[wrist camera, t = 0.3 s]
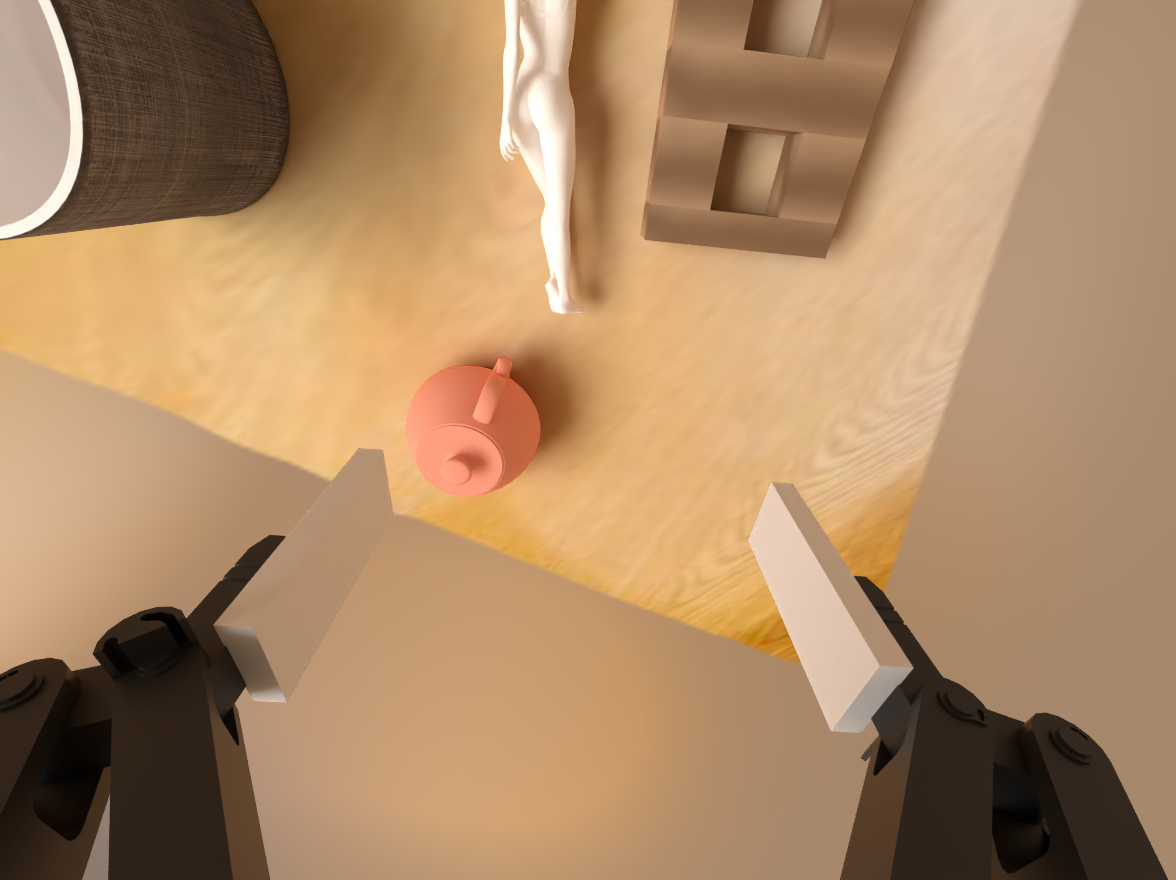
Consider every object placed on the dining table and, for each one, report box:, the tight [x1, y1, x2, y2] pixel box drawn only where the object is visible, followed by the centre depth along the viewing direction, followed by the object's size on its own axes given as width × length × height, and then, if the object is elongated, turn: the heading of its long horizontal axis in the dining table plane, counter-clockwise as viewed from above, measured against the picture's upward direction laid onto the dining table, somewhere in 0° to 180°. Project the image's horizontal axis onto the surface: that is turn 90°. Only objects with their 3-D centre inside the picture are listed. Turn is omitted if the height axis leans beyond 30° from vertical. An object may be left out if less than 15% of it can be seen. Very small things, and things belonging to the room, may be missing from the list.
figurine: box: [500, 0, 587, 314], centre depth 31 cm, size 8×6×25 cm
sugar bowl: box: [406, 357, 541, 497], centre depth 40 cm, size 12×14×10 cm
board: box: [641, 0, 914, 258], centre depth 30 cm, size 20×14×3 cm
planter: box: [0, 0, 289, 240], centre depth 24 cm, size 18×18×16 cm
